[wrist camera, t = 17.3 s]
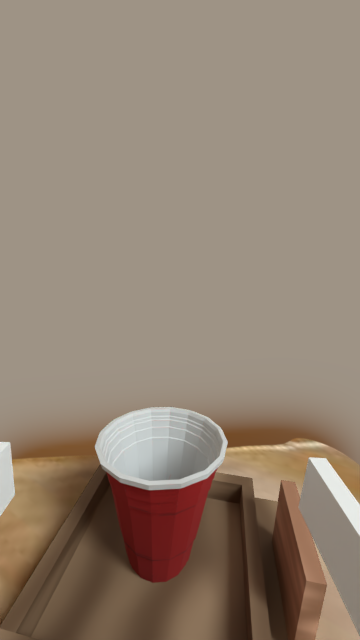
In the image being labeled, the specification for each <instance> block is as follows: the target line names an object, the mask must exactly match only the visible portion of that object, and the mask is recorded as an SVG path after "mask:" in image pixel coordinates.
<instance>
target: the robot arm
mask: <svg viewBox="0 0 360 640" xmlns="http://www.w3.org/2000/svg"><path fill="white" fill-rule="evenodd" d="M14 495H15V489H14V478H13V468H12V458H11V447H10V442H0V516H1V514H2V513H3V511H4V510H5V508H6V507H7V505H8V504H9V503H10V501H11V500H12V498H13V497H14ZM298 508H299V510H300V512H301V514H302V516H303V518H304V520H305V522H306V524H307V527H308V529H309V531H310V533H311V535H312V537H313V539H314V541H315V543H316V545H317V548H318V550H319V552H320V554H321V556H322V558H323V560H324V562H325V564H326V566H327V569H328V571H329V573H330V575H331V577H332V579H333V581H334V583H335V585H336V587H337V590H338V592H339V594H340V596H341V598H342V600H343V602H344V604H345V606H346V608H347V611H348V613H349V615H350V617H351V619H352V621H353V623H354V625H355V627H356V629H357V632H358V634H359V636H360V505H359V503H358V502H357V501H356V499H355V498H354V496H353V495H352V494H351V492H350V491H349V490H348V488H347V487H346V485H345V484H344V483H343V481H342V480H341V479H340V477H339V476H338V474H337V473H336V472H335V470H334V469H333V468H332V466H331V465H330V463H329V462H328V461H327V459H326V458H309V459H308V464H307V469H306V474H305V478H304V483H303V488H302V493H301V498H300V502H299V507H298Z"/></svg>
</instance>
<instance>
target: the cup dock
mask: <svg viewBox="0 0 360 640" xmlns="http://www.w3.org/2000/svg"><path fill="white" fill-rule="evenodd" d="M299 502H300V497H299V493H298V490H297V487H296V484H295V482H290V481H284V480H281V485H280V492H279V498H278V502H277V501H271V500H266V499H260V498H254V490H253V481H252V478H247V477H241V476H235V475H229V474H223V473H217V472H215V476H214V479H213V480H212V484H211V488H210V490H209V491H208V495H207V499H206V502H205V506H204V510H203V513H202V517H201V520H200V524H199V528H198V531H197V535H196V539H195V540H194V542H193V545H192V549H191V553H190V556H189V560H188V561H187V563H186V565H185V566H184V568H183V569H182V570H181V572H180V573H179V574H178V575H177V576H175V577H174V578H172V579H170V580H168V581H167V582H156V583H152V582H150V581H147V580H145V579H143V578H140V576H139V575H138V574H137V573H136V572H135V571H134V570H133V569H132V566H131V564H130V562H129V559H128V556H127V553H126V549H125V544H124V539H123V536H122V533H121V530H120V526H119V521H118V517H117V512H116V508H115V503H114V498H113V494H112V489H111V485H110V483H109V480H108V476H107V473H106V471H105V470H104V469H102V466H101V464H100V465H99V467H98V469H97V470H96V472H95V474H94V475H93V477H92V478H91V480H90V482H89V483H88V485H87V486H86V488H85V490H84V491H83V493H82V495H81V496H80V498H79V499H78V501H77V503H76V504H75V506H74V507H73V509H72V511H71V512H70V514H69V516H68V517H67V519H66V520H65V522H64V524H63V525H62V527H61V528H60V530H59V532H58V533H57V535H56V537H55V538H54V540H53V541H52V543H51V545H50V546H49V548H48V549H47V551H46V553H45V554H44V556H43V558H42V559H41V561H40V562H39V564H38V566H37V567H36V569H35V571H34V572H33V574H32V575H31V577H30V579H29V580H28V582H27V583H26V585H25V587H24V588H23V590H22V592H21V593H20V595H19V596H18V598H17V600H16V601H15V603H14V604H13V606H12V608H11V609H10V611H9V613H8V614H7V616H6V617H5V619H4V621H3V622H2V624H1V625H0V640H315V637H316V632H317V628H318V623H319V619H320V614H321V610H322V605H323V601H324V596H325V592H326V587H327V583H326V580H325V577H324V574H323V571H322V567H321V564H320V561H319V558H318V554H317V551H316V548H315V545H314V542H313V538H312V535H311V533H310V531H309V529H308V527H307V524H306V522H305V520H304V518H303V516H302V514H301V512H300V510H299V508H298V507H299Z"/></svg>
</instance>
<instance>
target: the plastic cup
mask: <svg viewBox="0 0 360 640" xmlns="http://www.w3.org/2000/svg"><path fill="white" fill-rule="evenodd" d="M226 447H227V440H226V438H225V436H224V433H223V431H222V429H221V428H220V427H219V426H218V425H217V424H216V423H214V422H213V421H212V420H210V419H209V418H208V417H206V416H203V415H201V414H198V413H196V412H193V411H191V410H185V409H180V408H174V407H153V408H146V409H141V410H137V411H132V412H129V413H127V414H125V415H123V416H121V417H118V418H116V419H114V420H112V421H111V422H110V423H109V424H108V425H107V426H106V427H105V428H104V429H103V430H102V431H101V432H100V433H99V436H98V439H97V442H96V445H95V449H96V452H97V455H98V458H99V461H100V464H101V466H102V469H104V470H105V471H106V473H107V476H108V480H109V483H110V485H111V489H112V494H113V498H114V503H115V508H116V512H117V517H118V521H119V526H120V530H121V533H122V536H123V539H124V544H125V549H126V553H127V556H128V559H129V562H130V564H131V566H132V569H133V570H134V571H135V572H136V573H137V574H138V575H139V576H140V578H143V579H145V580H147V581H150V582H152V583H156V582H167V581H168V580H170V579H172V578H174V577H175V576H177V575H178V574H179V573H180V572H181V570H182V569H183V568H184V566H185V565H186V563H187V561H188V560H189V556H190V553H191V549H192V545H193V542H194V540H195V539H196V535H197V531H198V528H199V524H200V520H201V517H202V513H203V510H204V506H205V502H206V499H207V495H208V491H209V490H210V488H211V484H212V480H213V479H214V476H215V472H216V470H217V468H218V467H219V466H220V465H221V464H222V462H223V460H224V456H225V452H226Z"/></svg>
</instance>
